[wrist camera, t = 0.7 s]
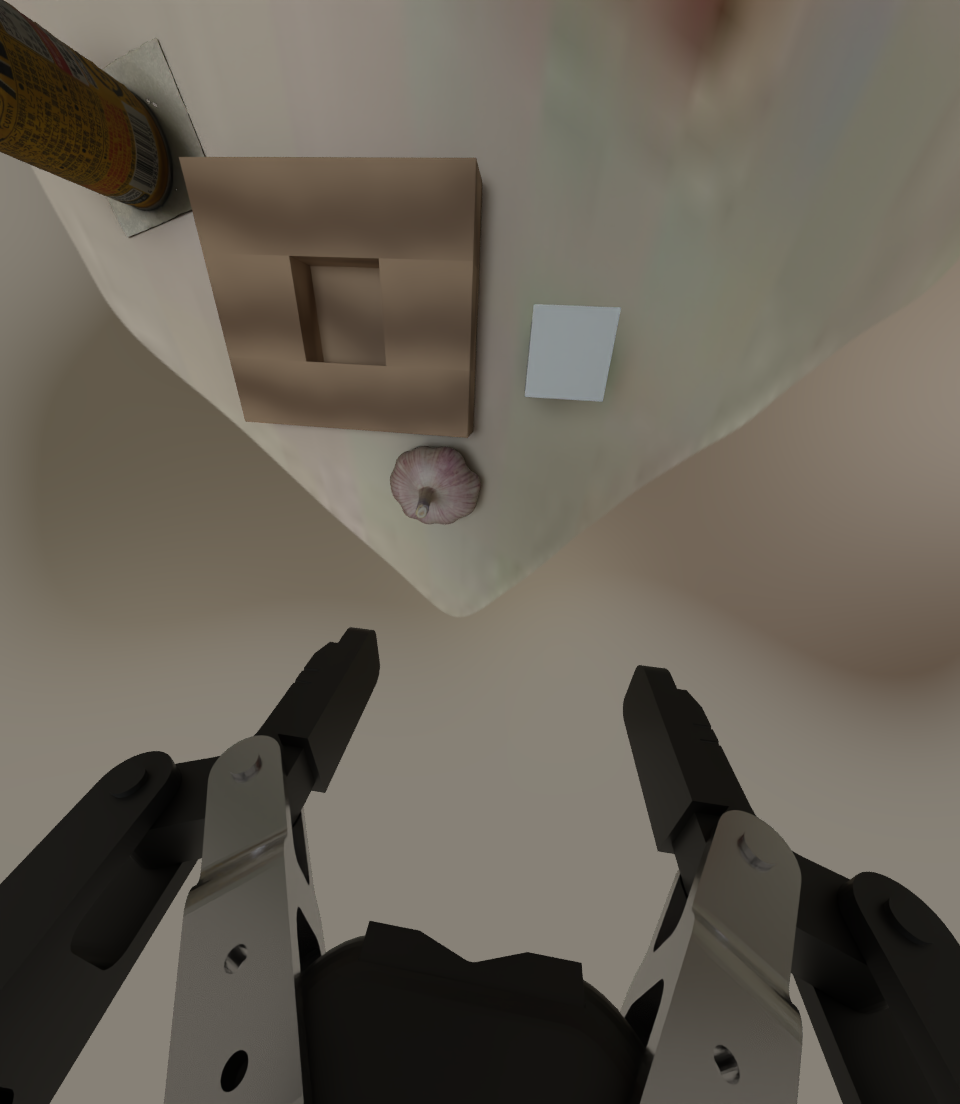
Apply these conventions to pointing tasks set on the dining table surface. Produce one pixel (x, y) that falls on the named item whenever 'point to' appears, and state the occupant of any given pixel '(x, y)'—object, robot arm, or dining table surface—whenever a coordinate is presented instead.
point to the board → (345, 287)
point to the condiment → (96, 121)
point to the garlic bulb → (434, 485)
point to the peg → (570, 351)
